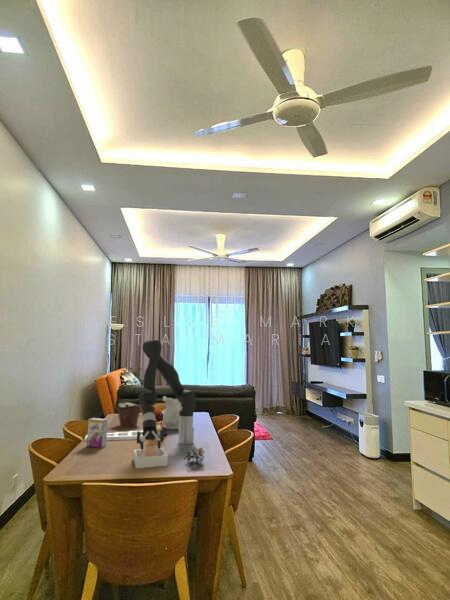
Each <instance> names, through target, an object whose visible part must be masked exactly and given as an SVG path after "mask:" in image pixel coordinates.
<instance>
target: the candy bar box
mask: <svg viewBox="0 0 450 600" xmlns="http://www.w3.org/2000/svg"><path fill="white" fill-rule="evenodd" d="M107 433H108V419H107V418H98V417H92V418H89V419H87V434H86V435H87V441H86V447H90V448H99V449H102V448H106V446H107V440H106V437H107Z"/></svg>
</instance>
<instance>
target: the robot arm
mask: <svg viewBox="0 0 450 600" xmlns="http://www.w3.org/2000/svg"><path fill="white" fill-rule="evenodd" d="M142 351H143V352H144V354H145V355H146V357H148V359H149V361H148V365H147V367H146V369H145V372H144V377H143V385H142V386H143V389H146V390H148V391H149V392H150V393H149V392H142V393H140V394H139V396H138V403H139V405H140V406H141V408H142V412H141V413H142V422H141V425H142V430H143V432H139V431H140V430H137V431H138V432H137V439H136V444H139V446H140V449H142V450H143V449H144V442H145V441H146V440H147V441H149V440H152V441H153V440H154V441H155V442H156V445H157V448H158V449H159V448H162V444H161V443H164V433H163V432H164V431H163V430H162V429H160V430H159V431H158V430H157V419H156V411H155V407H154V406H155V405H156V403H157V400H158V398H157V392H156V377H157V371H158V372H159V373H160V375H161V376H162V378H163V380H164V381H165V382H166V383H167V385H168V386H169V387H170V389H171V390H172V392H173V394H174V395H175V397H176V399H178V401H179V402H180V403H181V405H182V408H181V409H182V410H180V412H179V429H178V444H181V445H191V444H194V439H195V438H194V437H195V436H194V435H195V434H194V433H195V432H194V430H195V428H194V412H195V409H196V394H195V392H194V391H191V390H188V389H186V388H185V387H184V386H183V385H182V383H181V381H180V377H179V373H178V371H177V370H176V368H175V367H174V365H173V364H172V363H171V362H170V361H168V360H166V358H164V357H163V356H162V355H161V352H162V343H161V341H160V340H158V339H151V340H146V341H144V342H143V343H142ZM141 435H143V438H142V439H139V438H140V436H141ZM158 435H159V436H158Z"/></svg>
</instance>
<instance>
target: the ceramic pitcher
mask: <svg viewBox="0 0 450 600" xmlns="http://www.w3.org/2000/svg"><path fill="white" fill-rule="evenodd" d="M162 401H163V402H165V405H166V407H165V408H164V410H162V411H161V412H162V413H163V423H162V424H163V425H165V427H164V430H166V429H169V430H179V412H180V410H182V409H183V408H182V404H181V403H180V402H179V401H178V399H177V398H172V397H167V396H166V395H164V396H162Z"/></svg>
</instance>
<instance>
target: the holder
mask: <svg viewBox="0 0 450 600" xmlns="http://www.w3.org/2000/svg"><path fill="white" fill-rule="evenodd" d="M138 431H139V432H143V429H142V430H129V431H114V432H107V437H106V441H123V440H124V441H127V440H129V441H130V440H131V441H132V440H137V432H138ZM142 438H143V435H141V436H140V438H139V440H142ZM84 442H87V434H86V435H85V436H84Z"/></svg>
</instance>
